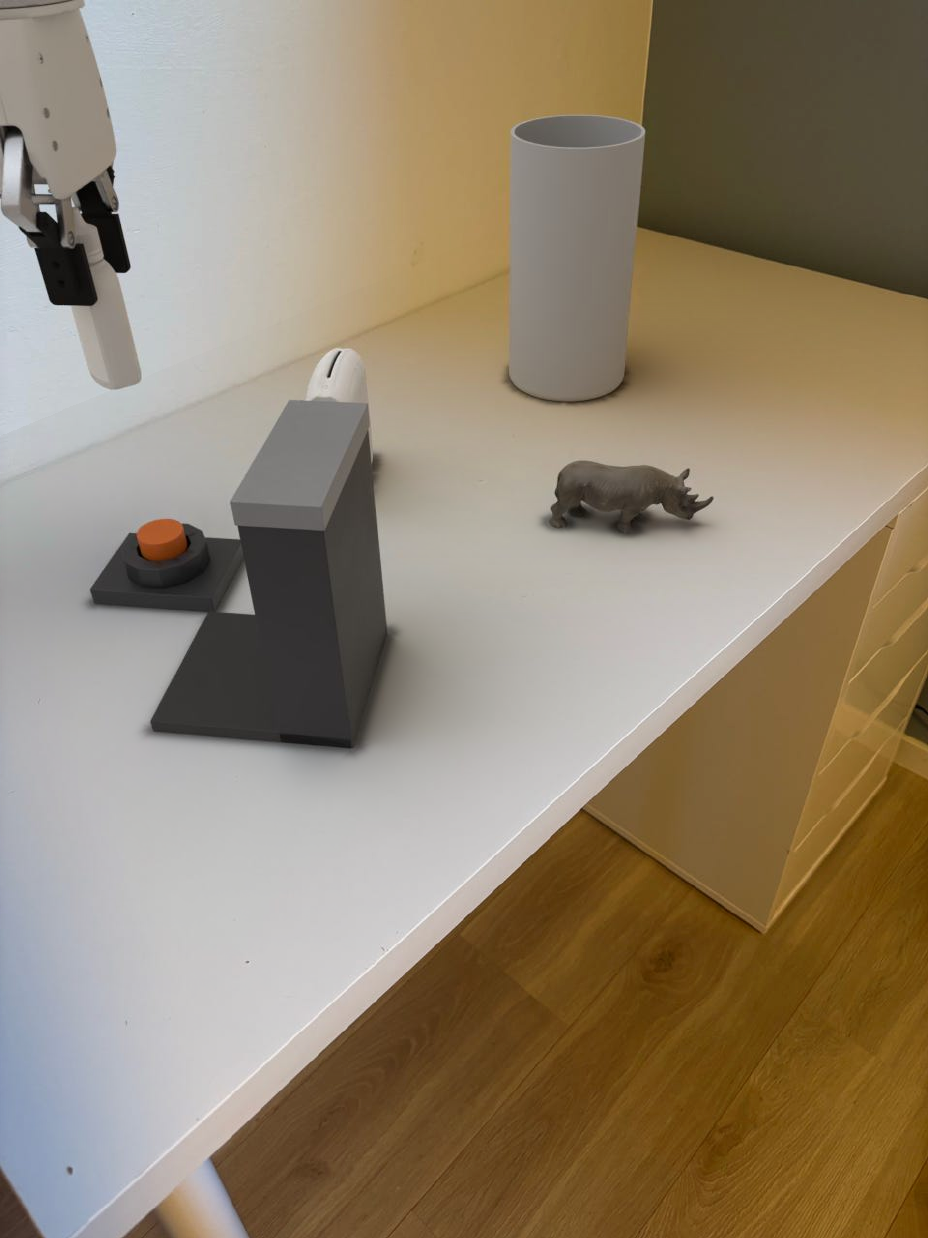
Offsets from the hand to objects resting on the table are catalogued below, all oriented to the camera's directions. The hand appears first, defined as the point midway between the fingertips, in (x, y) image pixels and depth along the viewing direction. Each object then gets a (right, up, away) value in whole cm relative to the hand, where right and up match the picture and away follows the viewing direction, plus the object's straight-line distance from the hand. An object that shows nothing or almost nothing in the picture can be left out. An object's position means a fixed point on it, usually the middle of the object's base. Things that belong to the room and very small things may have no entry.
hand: (92, 284), depth 69 cm
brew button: (+2, -18, +10) cm, 21 cm away
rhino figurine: (+40, -15, +17) cm, 46 cm away
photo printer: (+15, -11, +23) cm, 30 cm away
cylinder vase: (+37, +3, +39) cm, 54 cm away
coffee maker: (+12, -28, +2) cm, 31 cm away
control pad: (+2, -20, +12) cm, 24 cm away
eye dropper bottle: (0, -5, +4) cm, 7 cm away
